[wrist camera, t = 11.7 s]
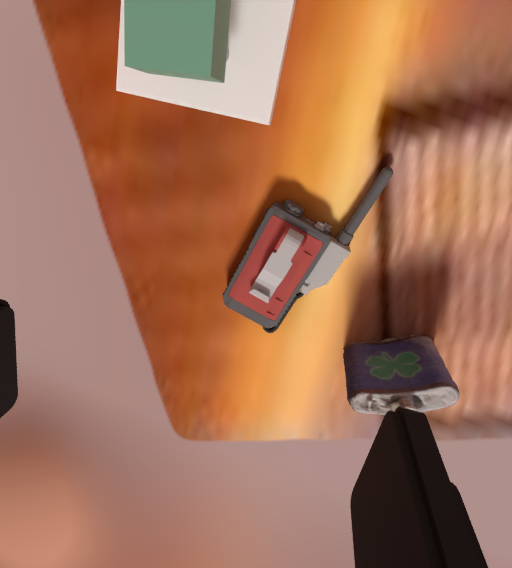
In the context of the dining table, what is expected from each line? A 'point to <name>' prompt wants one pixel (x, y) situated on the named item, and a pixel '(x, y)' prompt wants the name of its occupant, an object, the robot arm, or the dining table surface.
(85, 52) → the dining table surface
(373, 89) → the dining table surface
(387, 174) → the walkie-talkie
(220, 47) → the green boxy piece
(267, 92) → the standoff plate
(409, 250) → the dining table surface
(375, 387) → the flask
